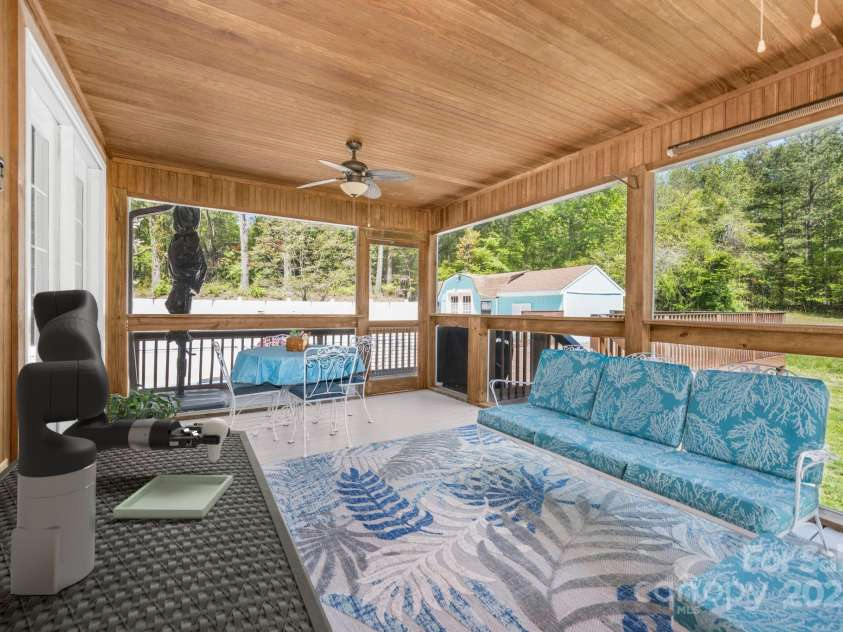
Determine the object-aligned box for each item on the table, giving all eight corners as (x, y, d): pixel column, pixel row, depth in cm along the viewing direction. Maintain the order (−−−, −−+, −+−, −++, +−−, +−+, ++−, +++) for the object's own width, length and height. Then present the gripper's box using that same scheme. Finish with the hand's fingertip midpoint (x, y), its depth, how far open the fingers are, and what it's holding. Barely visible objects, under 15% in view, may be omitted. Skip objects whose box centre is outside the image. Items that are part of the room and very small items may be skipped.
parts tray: (202, 518, 85) (202, 509, 85) (113, 518, 84) (113, 509, 84) (232, 482, 102) (233, 475, 102) (158, 482, 101) (159, 474, 101)
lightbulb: (231, 458, 111) (233, 415, 111) (218, 466, 105) (220, 422, 105) (209, 456, 112) (211, 414, 112) (194, 464, 106) (196, 420, 105)
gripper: (139, 427, 100) (214, 429, 101) (170, 412, 114) (235, 413, 116) (138, 459, 100) (212, 460, 101) (169, 440, 114) (234, 441, 116)
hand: (224, 435), depth 109 cm, fingers closed on lightbulb, 6 cm apart
